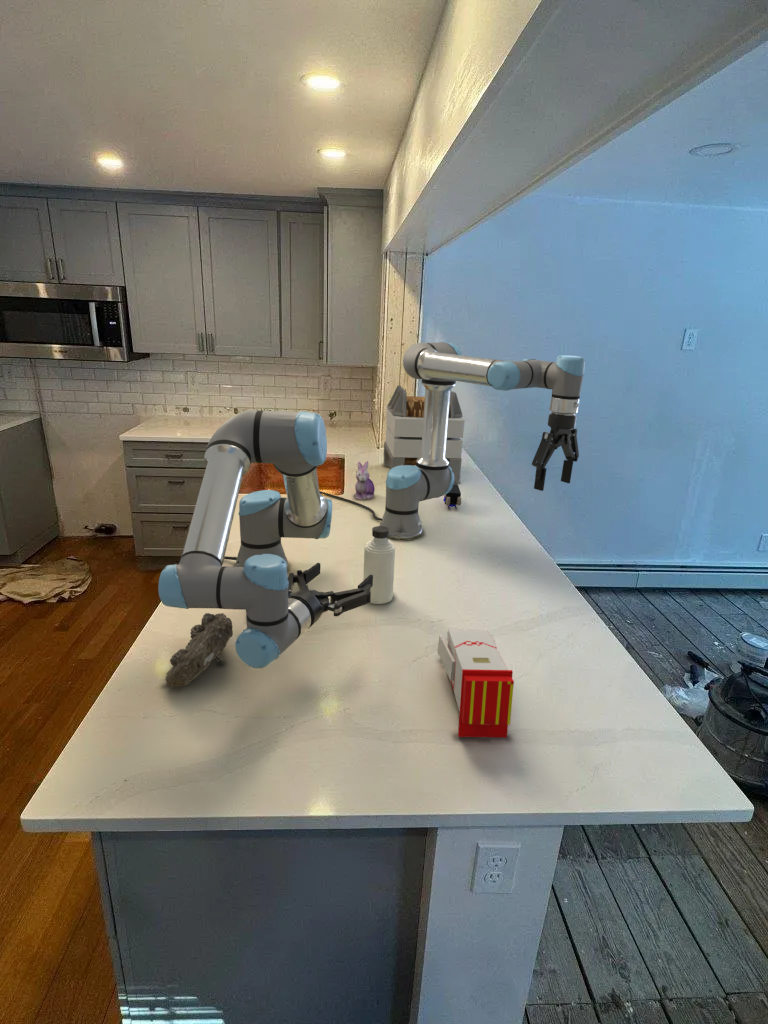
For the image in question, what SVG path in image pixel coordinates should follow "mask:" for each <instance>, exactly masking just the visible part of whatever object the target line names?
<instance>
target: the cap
mask: <svg viewBox="0 0 768 1024" xmlns="http://www.w3.org/2000/svg"><path fill="white" fill-rule="evenodd" d="M371 536H372V537H373V538H374V537H375V538H380V539H383V538H387V537H388V536H389V528H387V527H384V526H380V525H376V526H374V527H372V529H371ZM387 539H388V538H387Z"/></svg>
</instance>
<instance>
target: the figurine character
mask: <svg viewBox="0 0 768 1024" xmlns="http://www.w3.org/2000/svg"><path fill="white" fill-rule="evenodd" d="M442 500H443V502H444V504H445V506H447V509H448V510H451V508H453V507H454V510H457V509H458V507H459V506H461V505H462V492H461V490H460V486H459V483H454V484H453V487H452V489H451V490H450V491H449V492H448V493H447V494H445V495H443V499H442ZM450 507H451V508H450Z"/></svg>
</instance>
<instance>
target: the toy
mask: <svg viewBox="0 0 768 1024" xmlns="http://www.w3.org/2000/svg"><path fill="white" fill-rule="evenodd" d="M446 640H447V643H446V641H445V639H444V636H443V635H442V634H439V637H438V646H437V656H438V657H439V659H440V661H441V663H442V666H443V668H444V670H445V672H446V674H447V677H448V679H449V681H450V684H451V687H452V690H453V693H454V697H455V701H456V705H457V708H458V711H459V714H458V715H459V716H458V730H457V731H458V732H457V737H458V738H508V731H509V726H510V725H511V717H512V707H513V697H514V696H513V695H514V684H515V680H514V679H513V673H514V671H513V670H512V669H508V667H507V665H506V662H505V661H504V659H503V658H502V655H501V653H500V651H499V649H498V647H497V643H496V639H495V637H494V635H493V634H491V632H490V631H489V629H467V628H466V629H465V628H463V629H461V628H460V629H459V628H448V630H447V639H446Z"/></svg>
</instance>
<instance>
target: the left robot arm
mask: <svg viewBox="0 0 768 1024" xmlns="http://www.w3.org/2000/svg"><path fill="white" fill-rule="evenodd" d="M327 453H328V438H327V429H326V424H325V421H324V419H323V417H322V416H321V415H320V414H319V413H316V412H308V411H305V410H302V411H294V410H293V411H289V410H288V411H287V410H259V409H250V410H244V411H242V412H239V413H237V414H235V415H233V416H232V417H230V418H228V419H227V420H226V421H225V422H224V423H222V424H221V425H220V426H219V427H218V428H217V429H216V431H215V432H214V433H213V435H212V436H211V438H210V440H209V441H208V443H207V446H206V449H205V452H204V457H203V458H204V463H205V465H206V466H205V471H204V474H203V477H202V481H201V485H200V488H199V492H198V496H197V499H196V503H195V506H194V510H193V513H192V517H191V521H190V524H189V526H188V531H187V535H186V538H185V541H184V545H183V548H182V552H181V555H180V560H179V563H178V564H177V563H174V564H168V565H165V566H164V568H163V569H162V571H161V572H160V575H159V578H158V585H157V586H158V587H157V589H158V590H157V591H158V596H159V600H160V601H161V603H162V604H163V605H164V606H165V607H168V608H177V609H186V610H189V609H220V610H241V611H242V610H245V616H246V617H245V618H246V619H245V621H246V628H245V629H243V630H242V631H241V632H240V633H239V635H238V636H237V637H236V640H235V643H234V645H235V646H234V647H235V652H236V654H237V656H238V658H239V659H240V660H241V662H242V663H243V664H245V665H246V666H248V667H250V668H253V669H262V668H266V667H267V666H268V665H270V664H271V663H272V662H274V661H276V660H278V659H279V657H280V656H281V655H282V654H283V653H284V652H285V651H286V650H287V649H288V648H289V647H291V646H292V645H293V644H294V643H295V642H296V641H297V640H298V639H299V638H300V637H301V636H302V635H304V634H305V633H306V632H307V631H308V630H309V629H310V628H311V627H312V626H314V625H315V623H318V621H319V620H320V618H321V616H322V614H323V613H326V612H328V611H330V612H333V616H334V617H340V616H341V615H342V614H344V613H347V612H349V611H351V610H355V609H357V608H360V607H363V606H365V605H368V604H371V603H370V601H371V592H370V589H371V587H372V586H373V575H369V576H368V577H367V578H366V579H365V580H364V581H363V580H362V581H361V582H360V583H359V584H358V585H357V588H351V589H347V590H341V591H333V590H330V591H319V590H316V589H310V588H309V585H308V584H309V583H311V582H312V581H313V580H314V579H316V578H317V577H318V576H319V575H321V563H320V562H317V563H315V564H314V565H312V566H311V567H310V568H308V569H305V570H301V569H299V570H296V574H295V573H294V572H289V573H288V568H289V567H288V564H289V562H288V561H289V560H288V558H287V555H286V553H285V550H284V546H283V545H282V538H284V539H285V538H286V539H287V538H289V539H314V540H319V539H326V538H328V537H329V535H330V534H331V533H330V532H331V527H332V526H331V524H332V516H333V500H332V499H330V498H326V497H325V496H324V494H321V493H320V492H319V491H320V486H319V485H320V484H319V477H318V469H317V468H318V467H319V466H322V465H323V464H324V463H326V460H327ZM255 463H257V464H272V465H273V467H274V468H275V469H276V471H277V472H278V473H279V474H281V476H282V480H283V484H284V488H285V493H286V497H282V495H281V494H280V492H279V491H277V490H274V489H263V490H256V491H253V492H250V493H247V494H244V495H243V496H242V497H241V499H240V500H239V505H238V508H239V509H238V518H239V534H240V535H239V536H240V546H239V550H238V552H237V556H227V555H226V553H227V552H226V551H227V547H228V543H229V538H230V534H231V530H232V525H233V521H234V518H235V517H234V516H235V512H236V509H237V502H238V498H239V494H240V490H241V486H242V481H243V477H244V474H246V473H247V472H248V471H249V470H250V467H251V464H255ZM224 560H229V561H235V564H234V565H235V566H223V564H224ZM295 584H296V585H297V588H298V590H296V591H294V585H295ZM293 591H294V592H293Z"/></svg>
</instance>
